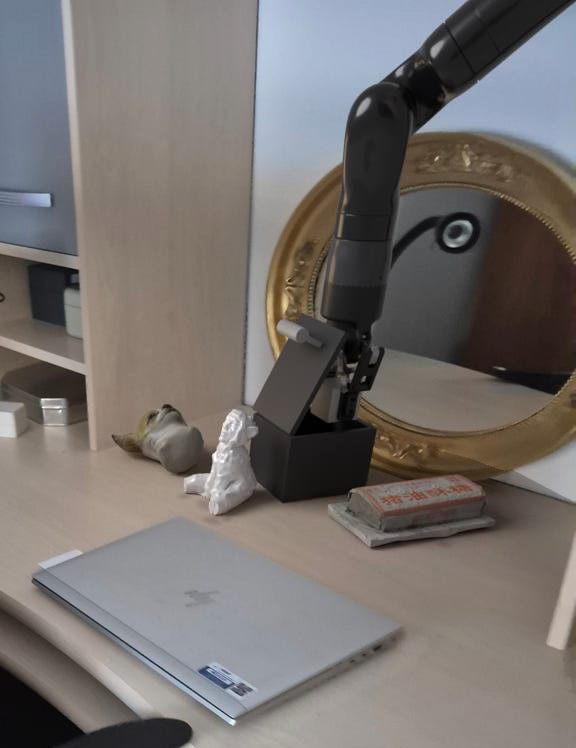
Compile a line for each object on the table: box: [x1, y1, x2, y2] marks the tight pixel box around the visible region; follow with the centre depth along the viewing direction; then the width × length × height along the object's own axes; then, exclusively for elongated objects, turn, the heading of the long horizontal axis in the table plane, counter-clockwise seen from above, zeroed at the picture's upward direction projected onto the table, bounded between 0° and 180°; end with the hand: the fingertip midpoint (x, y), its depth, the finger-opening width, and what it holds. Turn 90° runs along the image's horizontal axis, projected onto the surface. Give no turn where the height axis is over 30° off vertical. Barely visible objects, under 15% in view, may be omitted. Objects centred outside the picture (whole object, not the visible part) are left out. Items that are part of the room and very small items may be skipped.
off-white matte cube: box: [310, 376, 363, 423], centre depth 111 cm, size 4×4×4 cm
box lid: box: [251, 312, 350, 436], centre depth 106 cm, size 13×11×5 cm
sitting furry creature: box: [183, 408, 258, 516], centre depth 109 cm, size 10×9×12 cm
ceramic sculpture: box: [110, 403, 205, 473], centre depth 121 cm, size 11×9×15 cm
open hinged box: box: [248, 406, 378, 504], centre depth 114 cm, size 13×11×9 cm
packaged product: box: [327, 473, 496, 548], centre depth 104 cm, size 18×5×10 cm
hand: (334, 413), depth 112 cm, fingers closed on off-white matte cube, 4 cm apart
